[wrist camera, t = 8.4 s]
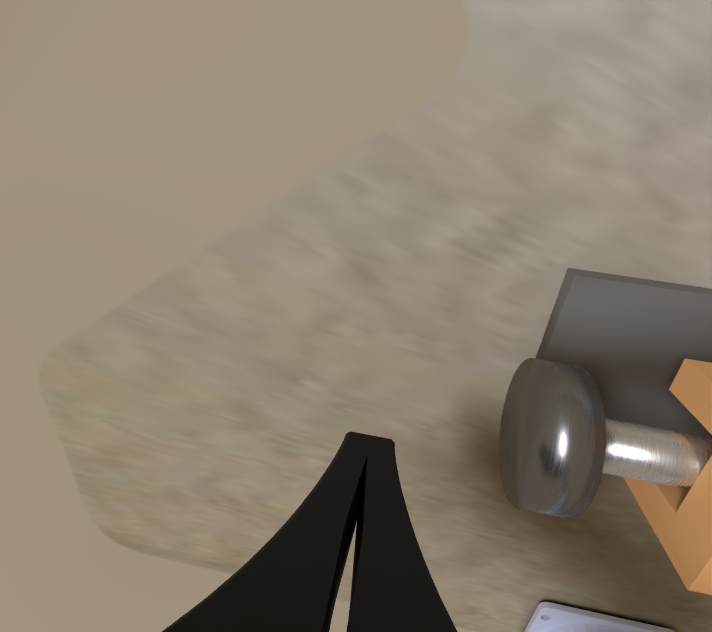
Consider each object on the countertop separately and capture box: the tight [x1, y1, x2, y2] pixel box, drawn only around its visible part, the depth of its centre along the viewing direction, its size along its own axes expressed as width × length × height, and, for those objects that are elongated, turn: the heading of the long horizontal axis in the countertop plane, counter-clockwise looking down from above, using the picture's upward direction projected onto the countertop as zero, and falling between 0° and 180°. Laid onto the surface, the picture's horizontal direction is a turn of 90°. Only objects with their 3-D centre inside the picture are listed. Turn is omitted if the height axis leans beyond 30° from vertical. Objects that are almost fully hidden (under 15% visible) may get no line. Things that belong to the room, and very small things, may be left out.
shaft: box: [500, 358, 712, 519], centre depth 14 cm, size 5×12×5 cm, turn 84°
